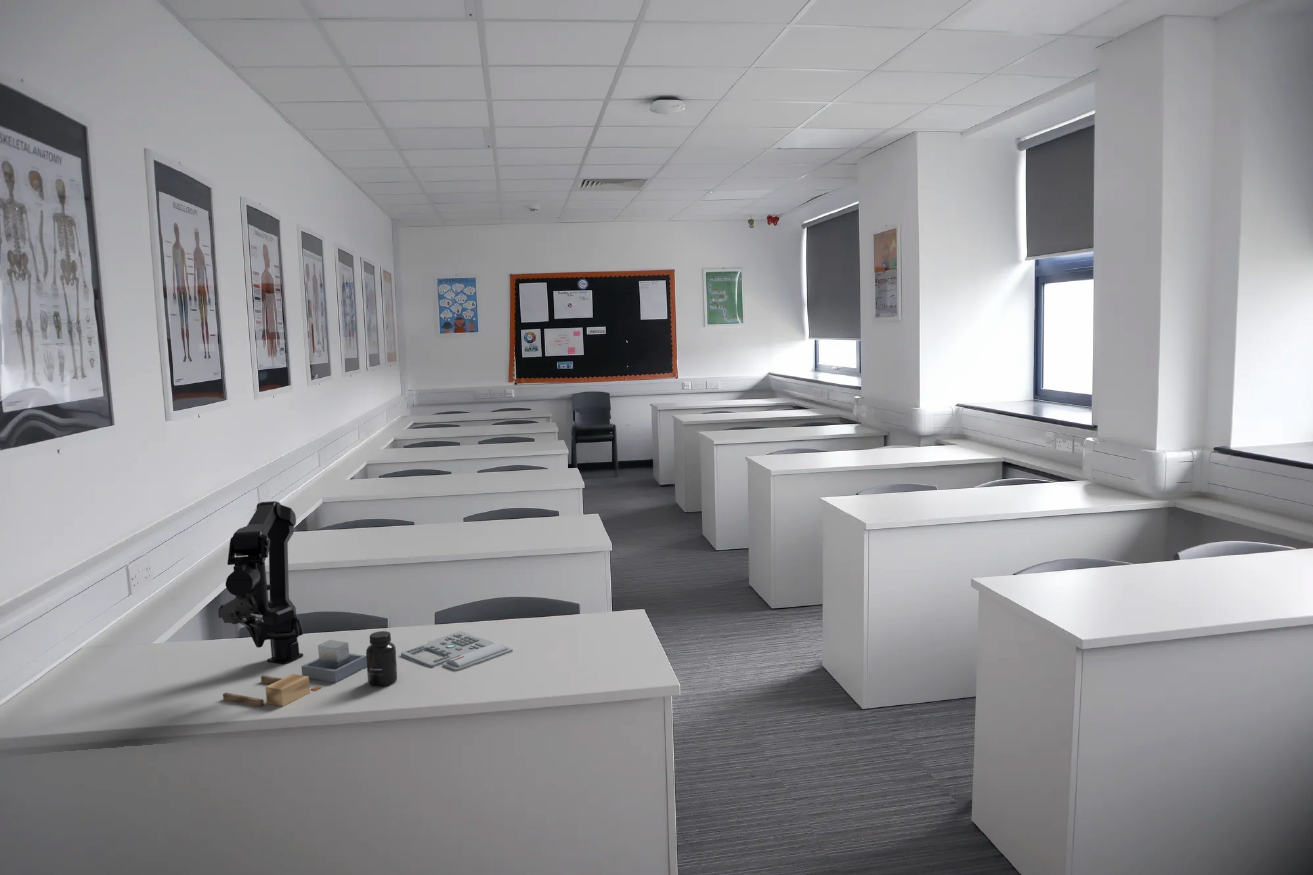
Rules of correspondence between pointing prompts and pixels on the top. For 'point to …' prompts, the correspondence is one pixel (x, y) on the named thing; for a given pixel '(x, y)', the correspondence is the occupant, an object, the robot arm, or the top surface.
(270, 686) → the block
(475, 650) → the office telephone
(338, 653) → the block
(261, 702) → the bar
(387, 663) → the supplement bottle
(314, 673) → the tray
